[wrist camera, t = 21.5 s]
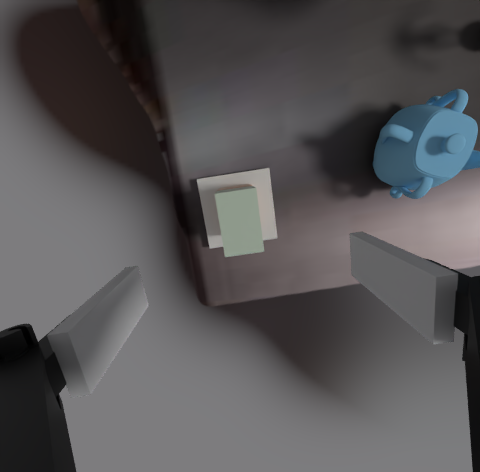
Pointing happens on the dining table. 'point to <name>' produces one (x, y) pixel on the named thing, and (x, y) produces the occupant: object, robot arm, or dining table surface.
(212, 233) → the base plate
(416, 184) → the teapot
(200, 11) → the dining table surface
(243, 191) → the sage brick
